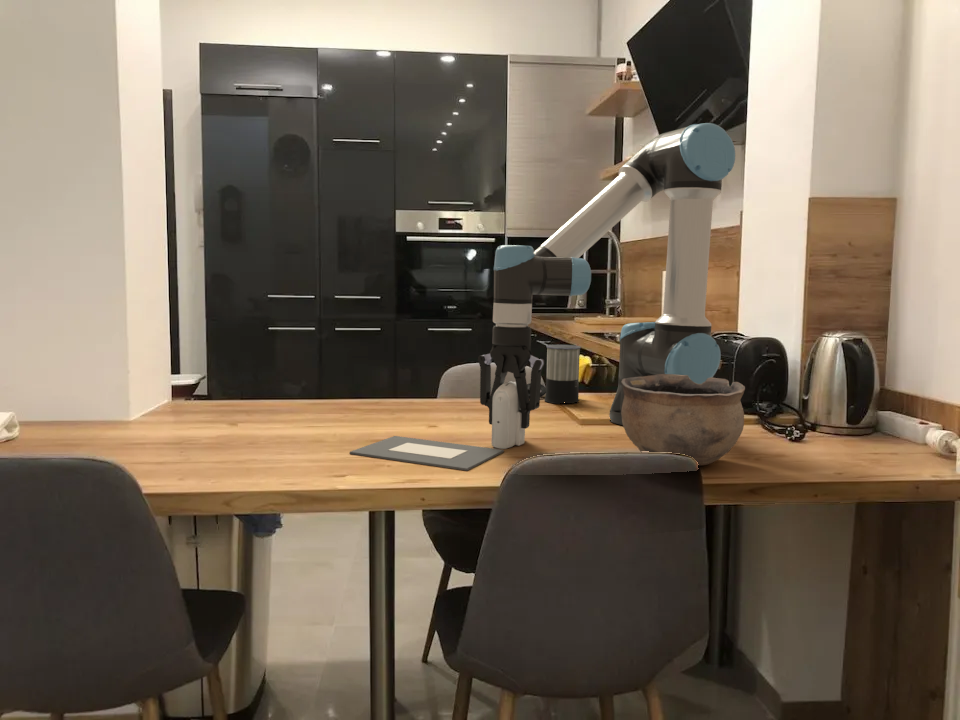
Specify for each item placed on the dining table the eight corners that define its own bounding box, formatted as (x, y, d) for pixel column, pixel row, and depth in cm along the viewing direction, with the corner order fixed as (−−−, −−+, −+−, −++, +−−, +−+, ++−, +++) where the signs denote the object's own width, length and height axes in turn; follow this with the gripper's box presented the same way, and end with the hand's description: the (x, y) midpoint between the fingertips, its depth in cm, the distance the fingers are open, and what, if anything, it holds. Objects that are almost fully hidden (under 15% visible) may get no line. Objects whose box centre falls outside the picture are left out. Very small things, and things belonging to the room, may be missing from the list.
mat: (503, 451, 148) (504, 449, 148) (467, 470, 133) (467, 467, 133) (394, 437, 158) (394, 435, 158) (349, 453, 143) (349, 451, 143)
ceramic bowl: (763, 464, 143) (768, 383, 141) (704, 485, 128) (709, 395, 126) (658, 443, 159) (662, 370, 157) (594, 460, 143) (597, 379, 141)
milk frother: (581, 405, 202) (583, 348, 200) (520, 403, 202) (522, 346, 200) (574, 396, 216) (576, 343, 215) (517, 394, 216) (519, 341, 215)
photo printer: (509, 450, 150) (510, 386, 148) (488, 447, 151) (490, 384, 150) (527, 440, 159) (529, 379, 157) (507, 437, 161) (509, 378, 159)
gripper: (560, 326, 152) (556, 444, 155) (479, 321, 159) (476, 434, 162) (547, 328, 145) (543, 451, 148) (463, 323, 153) (460, 441, 155)
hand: (508, 442), depth 155 cm, fingers closed on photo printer, 4 cm apart
